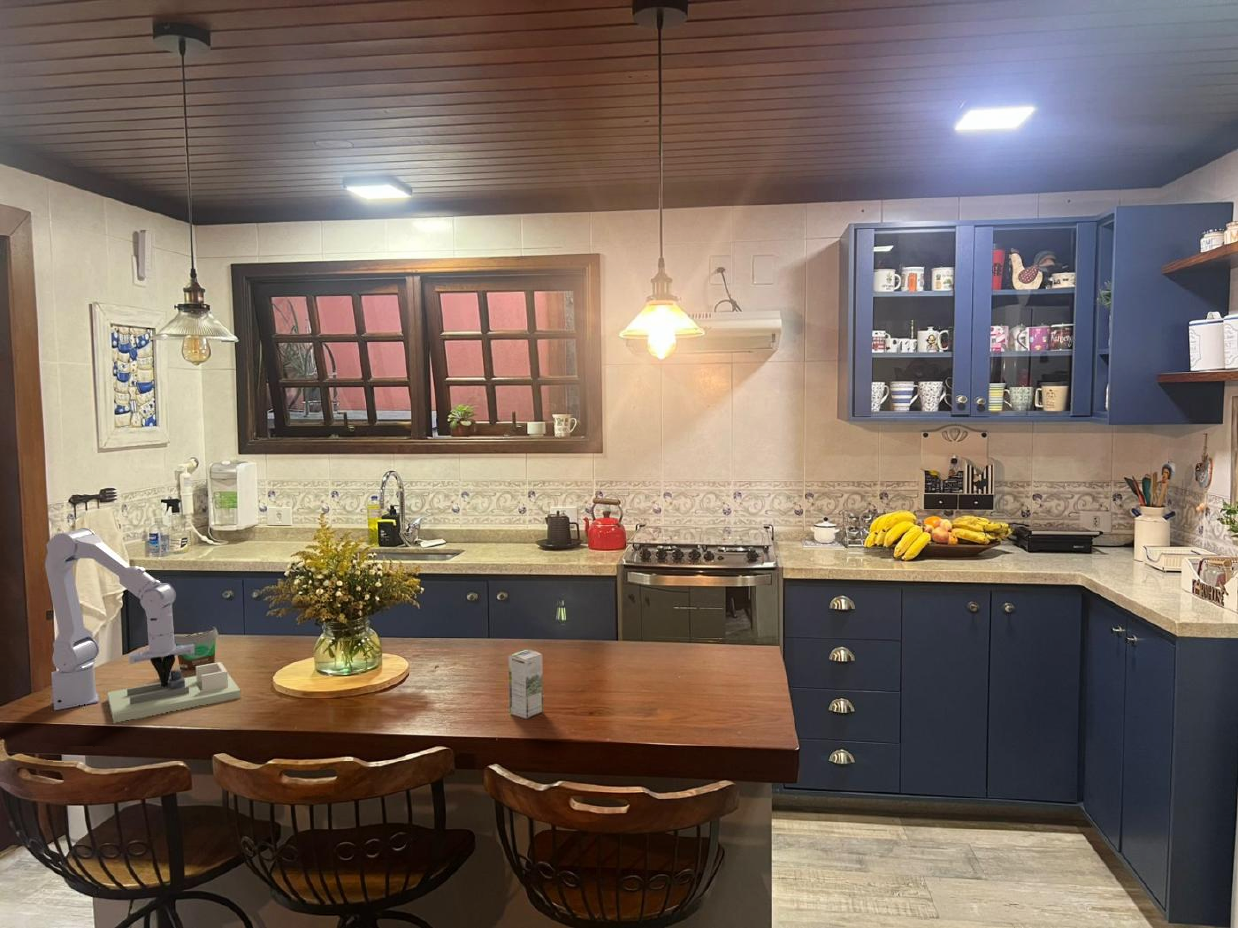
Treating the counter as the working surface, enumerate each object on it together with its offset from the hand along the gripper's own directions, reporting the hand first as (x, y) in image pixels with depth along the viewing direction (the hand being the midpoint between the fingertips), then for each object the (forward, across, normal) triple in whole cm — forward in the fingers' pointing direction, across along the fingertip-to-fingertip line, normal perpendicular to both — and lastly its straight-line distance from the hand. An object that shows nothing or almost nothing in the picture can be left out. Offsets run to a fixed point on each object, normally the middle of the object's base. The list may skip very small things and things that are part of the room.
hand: (164, 685), depth 216 cm
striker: (+2, +3, 0) cm, 3 cm away
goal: (+2, +10, 0) cm, 11 cm away
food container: (+4, +12, +25) cm, 28 cm away
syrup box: (+4, +69, -65) cm, 95 cm away
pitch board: (+4, +2, 0) cm, 4 cm away
